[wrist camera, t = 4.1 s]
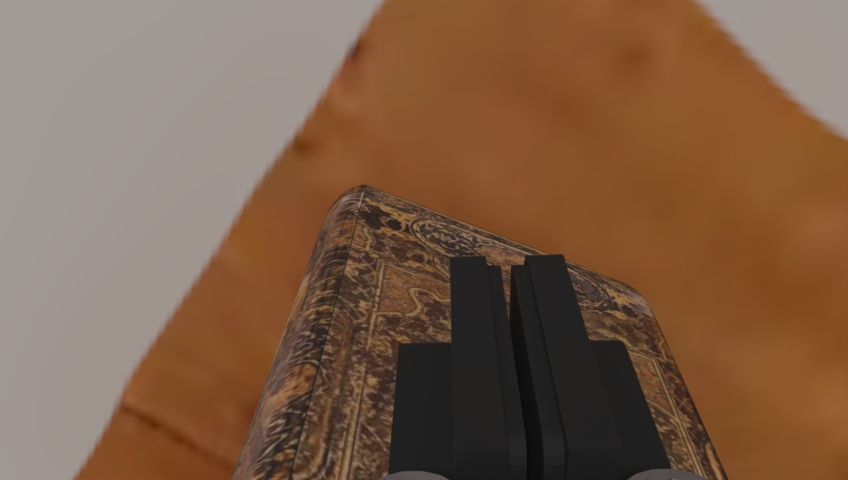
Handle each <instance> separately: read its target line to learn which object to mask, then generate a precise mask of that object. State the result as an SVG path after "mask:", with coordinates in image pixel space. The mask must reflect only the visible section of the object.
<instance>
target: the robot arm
mask: <svg viewBox="0 0 848 480" xmlns="http://www.w3.org/2000/svg"><path fill="white" fill-rule="evenodd" d="M450 300H451V342H448V343H400V344H399V349H398V360H397V372H396V384H395V396H394V407H393V419H392V431H391V443H390V455H389V467H388V475H386V476H383V477H381V478H379V479H377V480H709V479H707V478H705V477H702V476H700V475H698V474H695V473H691V472H686V471H682V470H677V469H672V467H671V464H670V462H669V459H668V456H667V454H666V451H665V448H664V446H663V443H662V441H661V438H660V435H659V433H658V430H657V427H656V425H655V422H654V419H653V417H652V414H651V411H650V409H649V406H648V404H647V401H646V398H645V396H644V393H643V390H642V388H641V385H640V382H639V380H638V377H637V374H636V372H635V369H634V366H633V364H632V361H631V359H630V356H629V353H628V351H627V348H626V346H625V344H624V342H622V341H621V340H589V336H588V333H587V330H586V327H585V323H584V320H583V317H582V314H581V310H580V307H579V304H578V301H577V297H576V294H575V291H574V288H573V284H572V281H571V278H570V275H569V271H568V268H567V265H566V262H565V258H564V256H563V255H562V254H561V255H526V256H525V260H524V265H512V266H511V276H510V312H509V319H508V312H507V306H506V299H505V292H504V285H503V279H502V272H501V266H500V265H487V261H486V256H453V257H450Z"/></svg>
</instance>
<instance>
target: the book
mask: <svg viewBox="0 0 848 480" xmlns="http://www.w3.org/2000/svg"><path fill="white" fill-rule="evenodd" d="M526 255H550V254H547V253H545V252H542V251H539V250H537V249H534V248H531V247H529V246H526V245H523V244H521V243H518V242H515V241H513V240H510V239H507V238H505V237H502V236H499V235H497V234H494V233H492V232H489V231H486V230H484V229H481V228H478V227H476V226H473V225H470V224H468V223H465V222H462V221H460V220H457V219H454V218H452V217H449V216H447V215H444V214H441V213H439V212H436V211H433V210H431V209H428V208H425V207H423V206H420V205H417V204H415V203H412V202H409V201H407V200H404V199H401V198H399V197H396V196H394V195H391V194H388V193H386V192H383V191H380V190H378V189H375V188H372V187H370V186H367V185H361V186H357V187H354V188H352V189H350V190H348V191H347V192H345V193H344V194H342V195H341V196H340V197H339V198H338V199H337V200H336V201H335V202H334V204H333V205H332V206H331V208H330V209H329V211H328V213H327V215H326V217H325V219H324V221H323V224H322V227H321V229H320V232H319V235H318V238H317V241H316V243H315V246H314V249H313V252H312V255H311V257H310V260H309V263H308V266H307V269H306V271H305V274H304V277H303V280H302V283H301V285H300V288H299V291H298V294H297V297H296V299H295V302H294V305H293V308H292V311H291V313H290V316H289V319H288V322H287V325H286V327H285V330H284V333H283V336H282V339H281V341H280V344H279V347H278V350H277V353H276V355H275V358H274V361H273V364H272V367H271V369H270V372H269V375H268V378H267V381H266V383H265V386H264V389H263V392H262V395H261V397H260V400H259V403H258V406H257V409H256V411H255V414H254V417H253V420H252V423H251V425H250V428H249V431H248V434H247V437H246V439H245V442H244V445H243V448H242V451H241V453H240V456H239V459H238V462H237V465H236V467H235V470H234V473H233V476H232V479H231V480H377V479H379V478H381V477H383V476H386V475H388V467H389V455H390V443H391V431H392V419H393V407H394V396H395V384H396V372H397V360H398V349H399V344H400V343H448V342H451V300H450V257H453V256H486V261H487V265H500V266H501V272H502V279H503V285H504V292H505V299H506V306H507V312H508V319H509V312H510V276H511V266H512V265H524V260H525V256H526ZM565 262H566V265H567V268H568V271H569V275H570V278H571V281H572V284H573V288H574V291H575V294H576V297H577V301H578V304H579V307H580V310H581V314H582V317H583V320H584V323H585V327H586V330H587V333H588V336H589V340H621V341H622V342H624V344H625V346H626V348H627V351H628V353H629V356H630V359H631V361H632V364H633V366H634V369H635V372H636V374H637V377H638V380H639V382H640V385H641V388H642V390H643V393H644V396H645V398H646V401H647V404H648V406H649V409H650V411H651V414H652V417H653V419H654V422H655V425H656V427H657V430H658V433H659V435H660V438H661V441H662V443H663V446H664V448H665V451H666V454H667V456H668V459H669V462H670V464H671V467H672V469H677V470H682V471H686V472H691V473H695V474H698V475H700V476H702V477H705V478H707V479H709V480H728V478H727V475H726V473H725V471H724V469H723V467H722V464H721V462H720V460H719V458H718V455H717V453H716V451H715V449H714V447H713V444H712V442H711V440H710V438H709V435H708V433H707V431H706V429H705V427H704V424H703V422H702V420H701V418H700V415H699V413H698V411H697V409H696V407H695V404H694V402H693V400H692V398H691V395H690V393H689V391H688V389H687V387H686V384H685V382H684V380H683V378H682V375H681V373H680V371H679V369H678V367H677V364H676V362H675V360H674V358H673V355H672V353H671V351H670V349H669V346H668V344H667V342H666V340H665V338H664V335H663V333H662V331H661V329H660V327H659V324H658V322H657V320H656V318H655V316H654V314H653V312H652V309H651V308H650V307H649V305H648V303H647V301H646V300H645V299H644V297H643V296H642V295H641V294H640V293H639V292H638V291H637V290H635V289H634V288H632V287H630V286H628V285H626V284H624V283H621V282H619V281H616V280H614V279H611V278H609V277H606V276H604V275H601V274H599V273H596V272H594V271H591V270H589V269H586V268H584V267H581V266H579V265H576V264H574V263H571V262H568V261H566V260H565Z"/></svg>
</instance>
